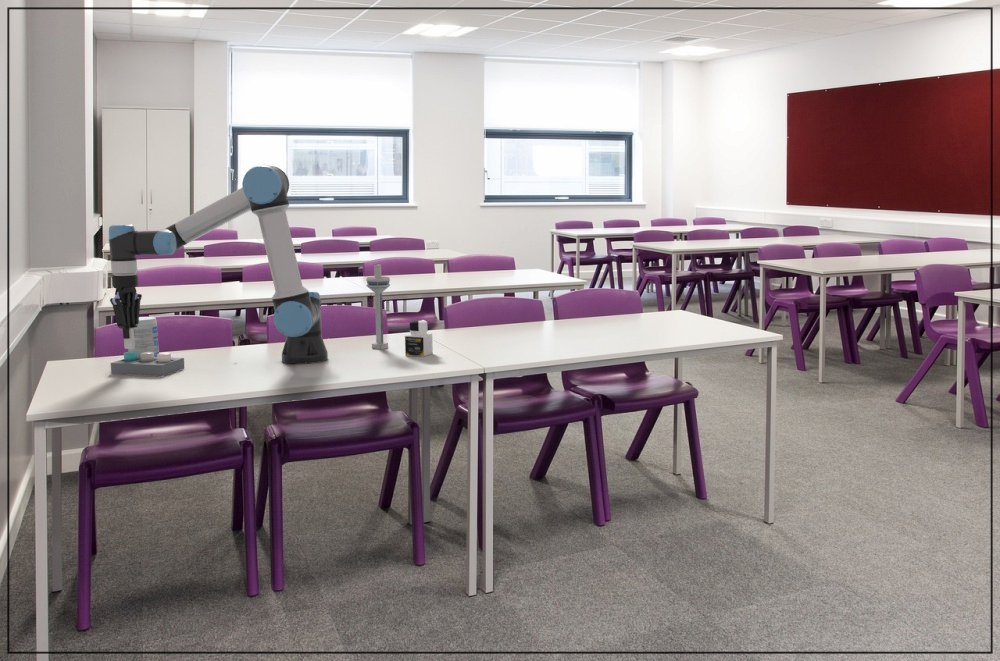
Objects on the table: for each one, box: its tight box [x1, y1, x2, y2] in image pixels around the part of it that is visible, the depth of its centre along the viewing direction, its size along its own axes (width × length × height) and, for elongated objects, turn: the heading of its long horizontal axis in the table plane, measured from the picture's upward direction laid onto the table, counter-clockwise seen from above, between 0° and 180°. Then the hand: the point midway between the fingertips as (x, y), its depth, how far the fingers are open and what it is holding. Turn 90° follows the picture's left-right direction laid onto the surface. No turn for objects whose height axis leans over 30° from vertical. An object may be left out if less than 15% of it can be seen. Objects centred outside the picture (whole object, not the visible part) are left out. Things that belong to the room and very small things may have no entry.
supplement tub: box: [127, 316, 160, 357], centre depth 297 cm, size 10×10×15 cm
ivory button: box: [157, 352, 172, 363], centre depth 280 cm, size 4×4×3 cm
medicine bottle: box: [404, 319, 434, 358], centre depth 306 cm, size 7×7×12 cm
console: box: [110, 356, 185, 377], centre depth 282 cm, size 18×12×4 cm, turn 77°
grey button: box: [140, 352, 154, 362], centre depth 281 cm, size 4×4×3 cm
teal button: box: [123, 351, 138, 362], centre depth 283 cm, size 4×4×3 cm
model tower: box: [365, 264, 391, 350], centre depth 318 cm, size 8×8×30 cm
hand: (129, 348), depth 282 cm, fingers closed
